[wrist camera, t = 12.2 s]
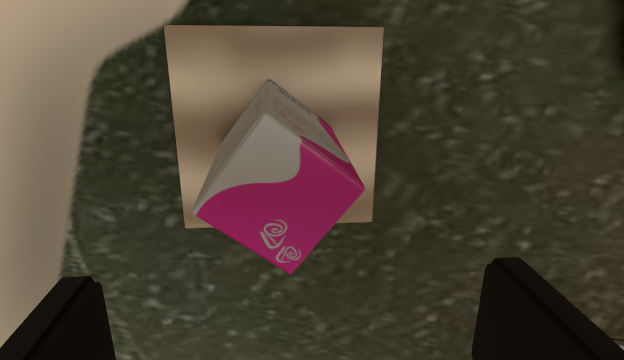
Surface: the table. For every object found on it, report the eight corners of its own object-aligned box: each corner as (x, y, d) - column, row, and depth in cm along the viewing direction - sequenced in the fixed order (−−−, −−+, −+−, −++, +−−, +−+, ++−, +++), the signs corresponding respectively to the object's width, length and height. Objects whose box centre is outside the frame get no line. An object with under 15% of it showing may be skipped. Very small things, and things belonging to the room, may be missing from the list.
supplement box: (217, 145, 28) (184, 212, 18) (268, 76, 27) (267, 103, 16) (284, 192, 30) (291, 279, 19) (335, 129, 29) (373, 184, 18)
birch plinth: (359, 199, 36) (371, 221, 31) (195, 204, 34) (185, 228, 30) (368, 28, 31) (383, 27, 27) (179, 26, 30) (163, 25, 26)
